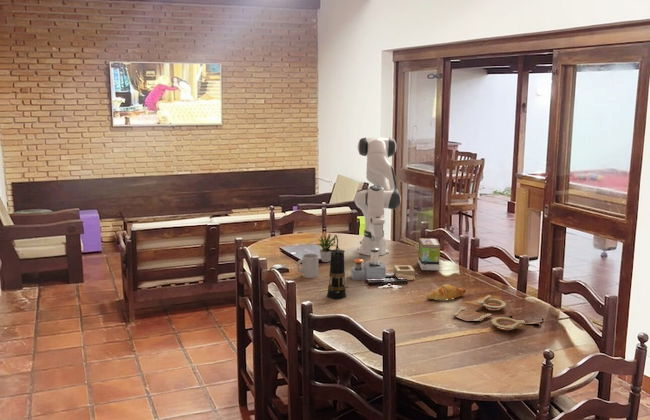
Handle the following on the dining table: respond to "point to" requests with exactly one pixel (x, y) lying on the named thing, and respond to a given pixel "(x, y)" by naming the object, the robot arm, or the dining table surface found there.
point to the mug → (309, 266)
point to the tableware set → (494, 320)
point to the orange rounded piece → (358, 263)
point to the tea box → (429, 254)
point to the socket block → (374, 270)
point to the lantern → (337, 274)
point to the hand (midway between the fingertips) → (375, 243)
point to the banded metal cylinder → (374, 256)
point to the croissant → (446, 292)
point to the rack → (404, 272)
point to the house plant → (325, 248)
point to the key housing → (358, 274)
